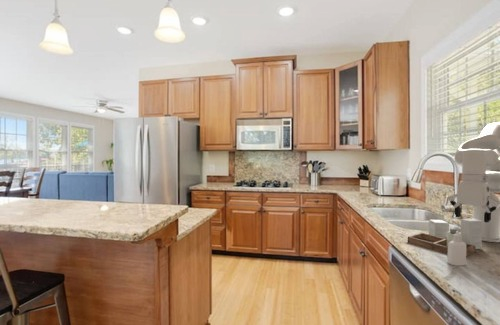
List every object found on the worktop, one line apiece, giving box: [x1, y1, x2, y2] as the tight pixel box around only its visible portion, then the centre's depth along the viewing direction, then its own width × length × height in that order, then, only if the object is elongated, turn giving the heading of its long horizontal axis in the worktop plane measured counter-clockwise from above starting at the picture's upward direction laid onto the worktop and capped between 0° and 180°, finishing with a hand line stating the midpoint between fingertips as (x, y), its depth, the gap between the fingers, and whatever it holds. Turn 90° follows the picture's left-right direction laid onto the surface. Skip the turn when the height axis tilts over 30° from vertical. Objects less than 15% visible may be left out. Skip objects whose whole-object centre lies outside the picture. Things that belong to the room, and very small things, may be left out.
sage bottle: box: [446, 228, 461, 247], centre depth 107 cm, size 4×4×9 cm
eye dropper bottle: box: [447, 230, 467, 267], centre depth 94 cm, size 4×6×12 cm
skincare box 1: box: [428, 219, 450, 239], centre depth 126 cm, size 6×6×7 cm
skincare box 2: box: [460, 217, 483, 250], centre depth 110 cm, size 6×4×12 cm
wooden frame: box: [407, 232, 476, 257], centre depth 111 cm, size 12×20×2 cm, turn 30°
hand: (471, 219), depth 109 cm, fingers open, 9 cm apart
